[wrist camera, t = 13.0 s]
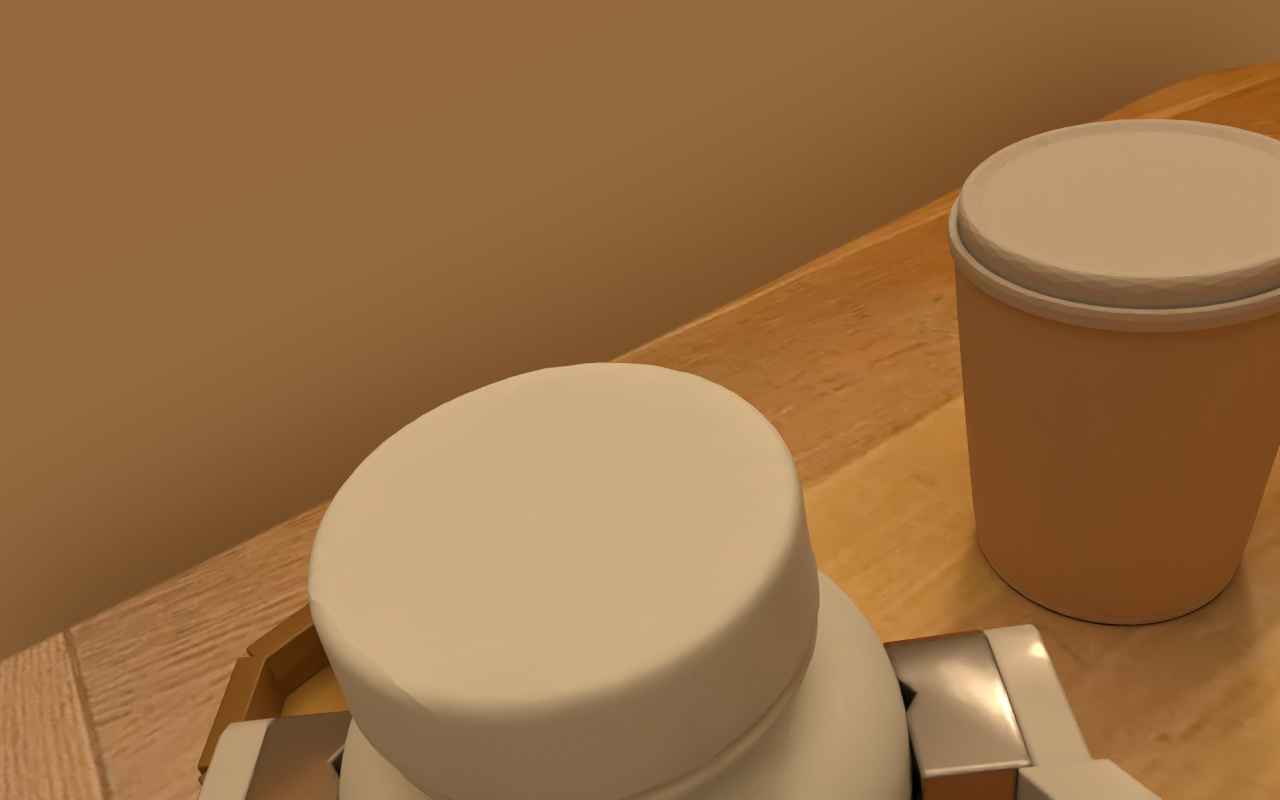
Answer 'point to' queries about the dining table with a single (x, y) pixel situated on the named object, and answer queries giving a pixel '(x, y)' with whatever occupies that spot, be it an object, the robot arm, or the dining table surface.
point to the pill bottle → (596, 606)
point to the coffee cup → (1120, 360)
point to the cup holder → (278, 680)
